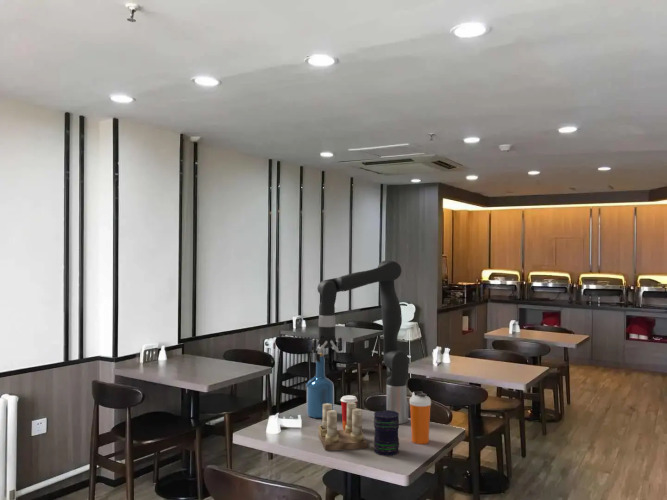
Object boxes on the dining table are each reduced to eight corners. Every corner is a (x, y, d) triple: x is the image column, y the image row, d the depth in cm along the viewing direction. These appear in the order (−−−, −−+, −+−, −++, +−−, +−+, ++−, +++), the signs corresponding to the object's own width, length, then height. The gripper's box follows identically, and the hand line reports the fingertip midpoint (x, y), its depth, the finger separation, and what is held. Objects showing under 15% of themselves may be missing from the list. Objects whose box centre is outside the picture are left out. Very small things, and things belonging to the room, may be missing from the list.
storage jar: (404, 453, 216) (404, 406, 216) (384, 457, 210) (384, 410, 211) (388, 445, 224) (388, 401, 224) (368, 450, 219) (368, 404, 219)
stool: (357, 434, 238) (357, 401, 238) (366, 447, 221) (366, 411, 222) (318, 436, 235) (318, 403, 235) (325, 450, 218) (325, 414, 218)
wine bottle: (333, 411, 275) (333, 350, 275) (334, 418, 261) (334, 355, 262) (305, 411, 274) (305, 351, 274) (305, 419, 261) (305, 355, 261)
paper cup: (358, 426, 250) (358, 395, 250) (357, 431, 242) (357, 399, 242) (341, 425, 251) (341, 394, 251) (339, 431, 243) (339, 399, 243)
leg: (329, 431, 235) (329, 403, 235) (333, 433, 231) (333, 405, 232) (321, 432, 233) (321, 404, 233) (325, 435, 230) (325, 406, 230)
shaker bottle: (417, 446, 223) (417, 396, 224) (405, 439, 231) (405, 392, 232) (435, 442, 227) (435, 394, 228) (422, 436, 235) (422, 389, 236)
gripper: (315, 327, 240) (315, 364, 240) (344, 325, 246) (344, 361, 246) (309, 325, 247) (309, 361, 247) (337, 323, 253) (337, 358, 253)
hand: (327, 361), depth 247 cm, fingers open, 8 cm apart
